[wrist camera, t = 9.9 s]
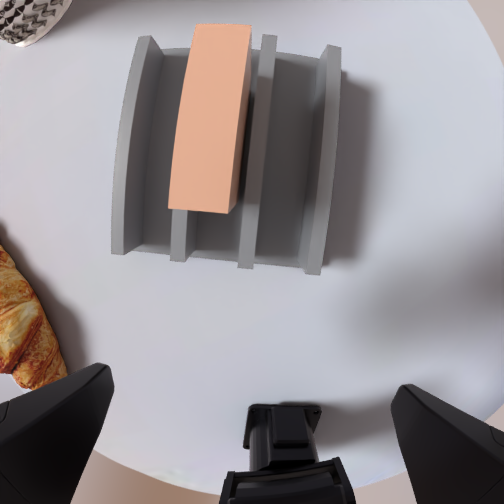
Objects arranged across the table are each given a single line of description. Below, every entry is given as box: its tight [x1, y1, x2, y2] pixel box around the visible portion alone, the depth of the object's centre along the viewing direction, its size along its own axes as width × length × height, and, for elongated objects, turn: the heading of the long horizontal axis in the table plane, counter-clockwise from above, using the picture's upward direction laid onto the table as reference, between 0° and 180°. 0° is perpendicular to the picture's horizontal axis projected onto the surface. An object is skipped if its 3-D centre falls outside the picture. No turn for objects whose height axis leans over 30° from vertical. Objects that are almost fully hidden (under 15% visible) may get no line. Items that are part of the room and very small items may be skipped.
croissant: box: [0, 245, 67, 390], centre depth 17 cm, size 21×10×8 cm, turn 22°
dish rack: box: [111, 34, 341, 275], centre depth 15 cm, size 14×13×4 cm
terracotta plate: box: [168, 24, 251, 214], centre depth 12 cm, size 7×2×8 cm, turn 174°
